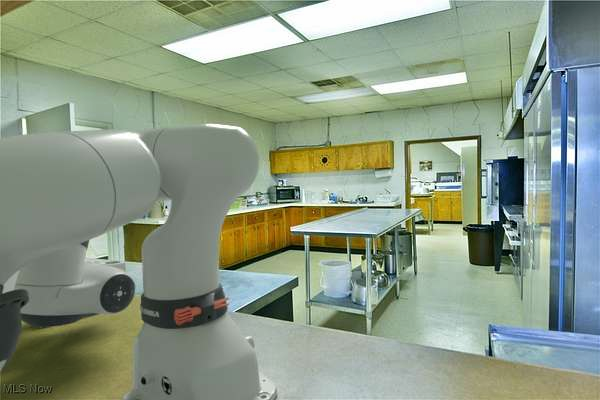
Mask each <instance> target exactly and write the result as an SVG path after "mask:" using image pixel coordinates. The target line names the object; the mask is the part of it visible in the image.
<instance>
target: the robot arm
mask: <svg viewBox="0 0 600 400" xmlns="http://www.w3.org/2000/svg"><path fill="white" fill-rule="evenodd" d="M259 168H260V155H259V152H258V148H257V146H256V143H255V142H254V140H253V138H252V136H251V135H250V134H249V133H248V132H247V131H246V130H245V129H244V128H242V127H240V126H235V125H233V126H232V125H227V124H220V123H219V124H217V123H203V124H202V123H201V124H191V125H180V126H178V125H177V126H168V127H156V128H143V129H131V130H124V129H120V128H119V129H118V128H116V129H115V128H114V129H113V128H111V129H93V130H91V129H90V130H71V131H70V130H69V131H65V130H64V131H63V130H62V131H46V132H45V131H44V132H36V133H26V134H19V135H18V134H17V135H11V136H6V137H5V136H4V137H0V372H1V371H2V369H3V368H4V367H5V366H6V365H7V364H8V363H9V362H10V361H11V360H12V358H13V356H14V354H15V351H16V349H17V346H18V343H19V339H20V336H21V333H22V330H23V328H22V327H23V326H22V322H24V323H26V324H27V325H31V326H35V327H39V326H42V327H44V328H47V327H62V326H66V325H71V324H74V323H77V322H79V321H80V320H82V319H84V318H87V317H88V316H87V315H88V314H89V313H98V314H99V315H115V314H119V313H121V312H123V311H124V310H126V309H127V308H129V306H130V304H131V302H132V301H133V300H134V298H135V294H136V293H135V292H136V283H135V280H134V278H133V277H132V275H130V274H129V273H128V272H127V271H128V270H127V263H126V261H122V260H121V261H107V262H106V261H105V262H102V261H101V262H98V261H91V260H90V261H88V260H86V255H87V251H88V248H89V243H90V240H93V239H95V238H97V237H100V236H103V235H105V234H107V233H109V232H112V231H114V230H117V229H119V228H121V227H124V226H126V225H128V224H131V223H133V222H135V221H138V220H140V219H142V218H145V216H146V215H148V214H150V212H151V211H152V210H153V209H154V207H155V206H156V203H158V202H167V201H170V203H171V204H170V209H169V213H168V216H167V218H166V220H165V222H164V223H163V224H162V225H160V226H159V227H157V228H155V229H154V230H152V231H151V232H150V233H149V234H148V235H147V236H146V237H145V239H144V241H143V242H142V245H141V267H142V270H141V271H142V286H143V292H142V294H141V295H140V303H139V308H140V309H139V310H140V313H141V315H140V316H141V321H143V322H142V323H143V324H142V326H141V329H140V331H139V332H138V334H137V336H136V337H135V338H134V340H133V342H132V367H131V368H132V369H131V370H132V371H131V372H132V374H131V375H132V377H131V378H132V382H131V383H132V384H131V385H132V386H131V388H130V390H128V391H127V392H126V393H125V394H124V395H123V396H122V398H121V399H122V400H275V399H276V397H277V395H278V389H277V385H276V384H275V383H274V382H273V381H272V380H271V379H269V378H268V377H267V376H266V375H265V374H264V373H263V372H262V371H261V370H259V364H258V357H257V353H256V351H255V342H254V339H253V337H252V336H251V335H246V336H244V334H243V332H242V331H241V329H240V328H239V327H238V325H237V323H236V322H235V321H234V320H233V319H232V318H231V316H230V313H229V312H228V309H229V307H228V306H229V305H230V303H229V302H228V303H227V301H228V300H230V297H226V293H225V292H224V288H223V285H222V284H221V283H220V267H219V266H220V265H219V263H220V261H219V259H220V258H219V254H220V238H221V232H222V227H223V225H224V222H225V219H226V217H227V215H228V213H229V211H230V209H231V208H232V207H233V205H234V203H235V202H236V201H237V200H238V199H239V198H240V197H241V196H242V195H243V194H245V193H246V192H247V191H248V190H249V189H251V186H252V185H253V184H254V182H255V180H256V178H257V176H258V173H259ZM98 314H97V315H98ZM86 316H87V317H86Z"/></svg>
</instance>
